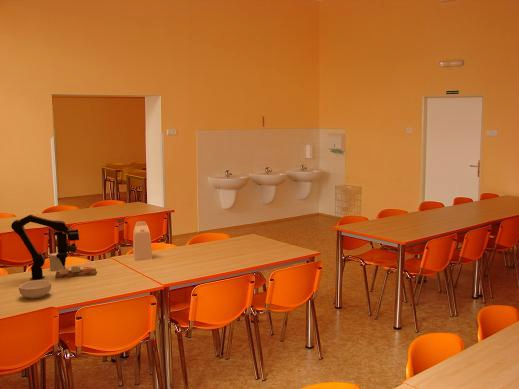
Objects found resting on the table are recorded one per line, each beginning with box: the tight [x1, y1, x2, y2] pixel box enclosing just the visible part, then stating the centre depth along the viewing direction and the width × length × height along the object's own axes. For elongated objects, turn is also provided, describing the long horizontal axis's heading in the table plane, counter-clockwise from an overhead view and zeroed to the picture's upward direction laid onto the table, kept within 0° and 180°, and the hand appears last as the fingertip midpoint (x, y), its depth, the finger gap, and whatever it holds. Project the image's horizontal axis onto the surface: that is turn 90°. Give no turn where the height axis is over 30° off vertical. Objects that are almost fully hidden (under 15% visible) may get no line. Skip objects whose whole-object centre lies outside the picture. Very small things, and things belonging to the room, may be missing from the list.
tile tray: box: [54, 267, 97, 280], centre depth 348 cm, size 24×10×2 cm, turn 105°
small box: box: [48, 252, 66, 272], centre depth 363 cm, size 8×6×10 cm
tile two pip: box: [70, 265, 81, 273], centre depth 348 cm, size 5×5×3 cm
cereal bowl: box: [18, 279, 52, 300], centre depth 306 cm, size 17×17×7 cm
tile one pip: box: [58, 268, 69, 274], centre depth 346 cm, size 5×5×3 cm
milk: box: [132, 221, 153, 261], centre depth 387 cm, size 12×12×26 cm
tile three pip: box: [82, 266, 93, 272], centre depth 350 cm, size 5×5×3 cm
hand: (63, 265), depth 346 cm, fingers closed
